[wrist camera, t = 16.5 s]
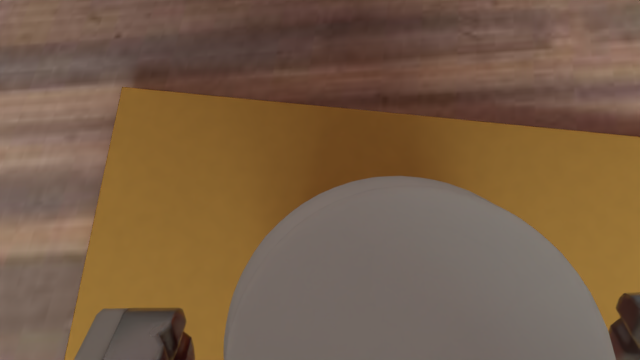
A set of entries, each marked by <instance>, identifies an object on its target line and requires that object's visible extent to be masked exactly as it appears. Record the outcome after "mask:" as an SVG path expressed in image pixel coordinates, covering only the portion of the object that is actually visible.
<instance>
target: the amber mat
mask: <svg viewBox="0 0 640 360" xmlns="http://www.w3.org/2000/svg"><path fill="white" fill-rule="evenodd" d="M384 176H408V177H419V178H426V179H432V180H437V181H441V182H445V183H449V184H452V185H454V186H457V187H460V188H463V189H465V190H468V191H470V192H472V193H474V194H476V195H478V196H480V197H482V198H484V199H486V200H488V201H490V202H491V203H493V204H495V205H497V206H499V207H501V208H503V209H505V210H507V211H509V212H510V213H512V214H514V215H516V216H517V217H519V218H521V219H522V220H523V221H525V222H526V223H527V224H529V225H530V226H531V227H533V228H534V229H535V230H537V231H538V232H539V233H540V234H541V235H543V236H544V237H545V238H546V239H547V240H548V241H549V242H550V243H551V244H553V245H554V246H555V247H556V248H557V249H558V250H559V251H560V252H561V253H562V254H563V255H564V257H565V258H566V259H567V260H568V262H569V263H570V264H571V265H572V267H573V268H574V269H575V270H576V272H577V273H578V274H579V276H580V277H581V279H582V281H583V282H584V284H585V285H586V287H587V288H588V290H589V291H590V293H591V295H592V297H593V299H594V301H595V303H596V305H597V307H598V309H599V311H600V313H601V316H602V318H603V320H604V322H605V325H606V327H607V329H608V332H609V328H610V325H611V324H613V323H614V322H615V321H617V320H618V319H619V318H620V315H619V313H618V312H617V310H616V305H617V302H618V299H619V298H620V297H621V296H622V295H623V294H624V293H635V292H640V137H638V136H627V135H617V134H606V133H596V132H586V131H575V130H565V129H555V128H544V127H534V126H523V125H513V124H503V123H492V122H482V121H472V120H461V119H451V118H440V117H430V116H420V115H409V114H399V113H388V112H378V111H368V110H357V109H347V108H337V107H326V106H316V105H305V104H295V103H285V102H274V101H264V100H254V99H243V98H233V97H222V96H212V95H202V94H191V93H181V92H170V91H160V90H150V89H139V88H129V87H122V90H121V95H120V100H119V104H118V109H117V114H116V119H115V123H114V128H113V133H112V137H111V142H110V147H109V151H108V156H107V161H106V166H105V170H104V175H103V180H102V184H101V189H100V194H99V199H98V203H97V208H96V213H95V217H94V222H93V227H92V232H91V236H90V241H89V246H88V250H87V255H86V260H85V265H84V269H83V274H82V279H81V283H80V288H79V293H78V298H77V302H76V307H75V312H74V316H73V321H72V326H71V331H70V335H69V340H68V345H67V349H66V354H65V359H64V360H74V359H75V357H76V355H77V353H78V351H79V349H80V347H81V345H82V343H83V341H84V339H85V337H86V335H87V333H88V331H89V329H90V327H91V325H92V323H93V321H94V319H95V317H96V315H97V314H98V313H99V312H100V311H101V310H102V309H115V308H181V309H183V312H184V315H185V318H186V321H187V322H186V325H185V328H184V332H185V333H187V334H188V335H189V336H190V337H191V338H192V341H193V345H194V352H195V360H224V335H225V328H226V321H227V317H228V312H229V307H230V304H231V300H232V297H233V293H234V291H235V288H236V286H237V283H238V281H239V279H240V277H241V274H242V272H243V270H244V269H245V267H246V265H247V263H248V262H249V260H250V258H251V257H252V255H253V253H254V252H255V250H256V249H257V247H258V246H259V245H260V243H261V242H262V241H263V239H264V238H265V237H266V235H267V234H268V233H269V232H270V231H271V230H272V229H273V228H274V227H275V226H276V225H277V224H278V223H279V222H280V221H281V220H283V219H284V218H285V217H286V216H287V215H288V214H289V213H291V212H292V211H293V210H295V209H296V208H297V207H299V206H300V205H302V204H303V203H305V202H306V201H308V200H310V199H311V198H313V197H315V196H317V195H318V194H320V193H323V192H325V191H327V190H330V189H332V188H334V187H337V186H340V185H343V184H346V183H349V182H352V181H357V180H362V179H367V178H372V177H384Z"/></svg>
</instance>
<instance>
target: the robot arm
mask: <svg viewBox="0 0 640 360" xmlns="http://www.w3.org/2000/svg"><path fill="white" fill-rule="evenodd" d="M616 310H617V312H618V313H619V315H620V318H619V319H618V320H617V321H615V322H614V323H613V324H611V325H610V328H609V336H610V339H611V343H612V347H613V350H614V354H615V358H616V360H640V292H635V293H624V294H623V295H622V296H621V297H620V298H619V299H618V302H617V305H616ZM186 322H187V321H186V318H185V315H184V312H183V309H181V308H115V309H102V310H101V311H100V312H99V313H98V314H97V315H96V317H95V319H94V321H93V323H92V325H91V327H90V329H89V331H88V333H87V335H86V337H85V339H84V341H83V343H82V345H81V347H80V349H79V351H78V353H77V355H76V357H75V359H74V360H195V352H194V345H193V341H192V338H191V337H190V336H189V335H188V334H187V333H185V332H184V328H185V325H186Z"/></svg>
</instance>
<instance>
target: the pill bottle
mask: <svg viewBox="0 0 640 360" xmlns="http://www.w3.org/2000/svg"><path fill="white" fill-rule="evenodd" d="M224 360H616V358H615V354H614V350H613V347H612V343H611V339H610V336H609V332H608V329H607V327H606V325H605V322H604V320H603V318H602V316H601V313H600V311H599V309H598V307H597V305H596V303H595V301H594V299H593V297H592V295H591V293H590V291H589V290H588V288H587V287H586V285H585V284H584V282H583V281H582V279H581V277H580V276H579V274H578V273H577V272H576V270H575V269H574V268H573V267H572V265H571V264H570V263H569V262H568V260H567V259H566V258H565V257H564V255H563V254H562V253H561V252H560V251H559V250H558V249H557V248H556V247H555V246H554V245H553V244H551V243H550V242H549V241H548V240H547V239H546V238H545V237H544V236H543V235H541V234H540V233H539V232H538V231H537V230H535V229H534V228H533V227H531V226H530V225H529V224H527V223H526V222H525V221H523V220H522V219H521V218H519V217H517V216H516V215H514V214H512V213H510V212H509V211H507V210H505V209H503V208H501V207H499V206H497V205H495V204H493V203H491V202H490V201H488V200H486V199H484V198H482V197H480V196H478V195H476V194H474V193H472V192H470V191H468V190H465V189H463V188H460V187H457V186H454V185H452V184H449V183H445V182H441V181H437V180H432V179H426V178H419V177H408V176H384V177H372V178H367V179H362V180H357V181H352V182H349V183H346V184H343V185H340V186H337V187H334V188H332V189H330V190H327V191H325V192H323V193H320V194H318V195H317V196H315V197H313V198H311V199H310V200H308V201H306V202H305V203H303V204H302V205H300V206H299V207H297V208H296V209H295V210H293V211H292V212H291V213H289V214H288V215H287V216H286V217H285V218H284V219H283V220H281V221H280V222H279V223H278V224H277V225H276V226H275V227H274V228H273V229H272V230H271V231H270V232H269V233H268V234H267V235H266V237H265V238H264V239H263V241H262V242H261V243H260V245H259V246H258V247H257V249H256V250H255V252H254V253H253V255H252V257H251V258H250V260H249V262H248V263H247V265H246V267H245V269H244V270H243V272H242V274H241V277H240V279H239V281H238V283H237V286H236V288H235V291H234V293H233V297H232V300H231V304H230V307H229V312H228V317H227V321H226V328H225V335H224Z"/></svg>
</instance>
